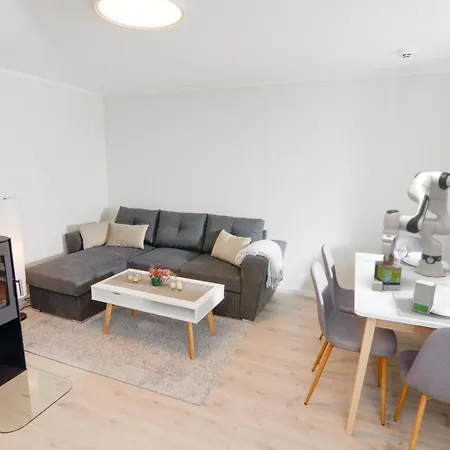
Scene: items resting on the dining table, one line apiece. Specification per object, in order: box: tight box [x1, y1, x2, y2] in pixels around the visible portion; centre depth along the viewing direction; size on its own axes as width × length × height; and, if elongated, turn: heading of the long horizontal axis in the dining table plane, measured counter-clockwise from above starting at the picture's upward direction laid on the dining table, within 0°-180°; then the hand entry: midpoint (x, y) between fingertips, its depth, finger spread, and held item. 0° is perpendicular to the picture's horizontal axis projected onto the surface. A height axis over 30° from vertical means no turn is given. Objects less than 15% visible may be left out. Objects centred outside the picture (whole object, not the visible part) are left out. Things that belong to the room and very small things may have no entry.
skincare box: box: [411, 279, 437, 315], centre depth 175 cm, size 8×7×16 cm
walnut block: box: [382, 254, 395, 265], centre depth 209 cm, size 5×5×5 cm
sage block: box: [372, 279, 383, 293], centre depth 206 cm, size 5×5×5 cm
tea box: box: [373, 260, 403, 291], centre depth 211 cm, size 15×10×15 cm
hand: (388, 258), depth 209 cm, fingers open, 8 cm apart
